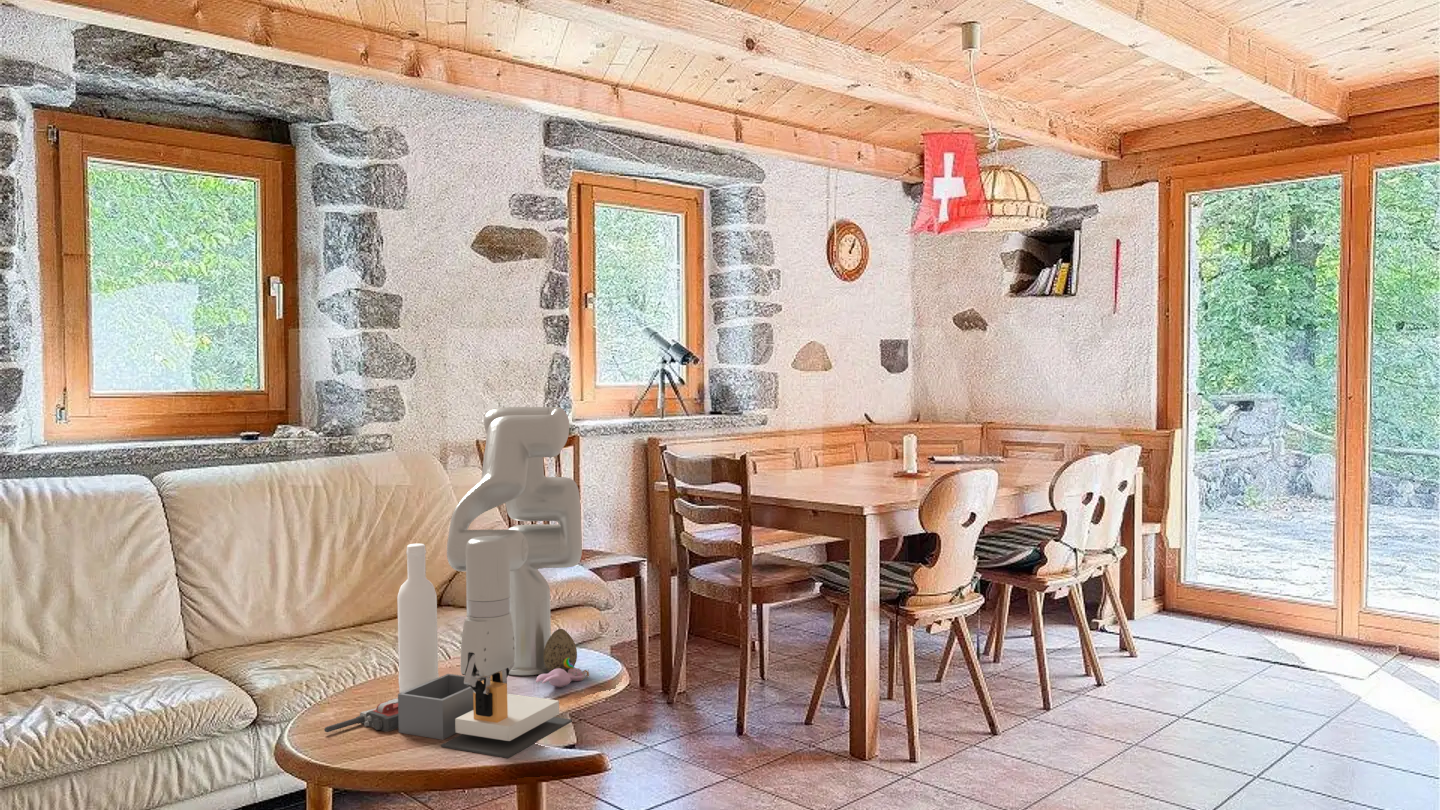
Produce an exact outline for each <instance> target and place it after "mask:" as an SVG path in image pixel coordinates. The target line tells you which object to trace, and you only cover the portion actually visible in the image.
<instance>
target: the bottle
mask: <svg viewBox="0 0 1440 810" xmlns="http://www.w3.org/2000/svg"><path fill="white" fill-rule="evenodd" d="M405 553H406V554H405V555H406V556H407V557H406V560H407V562H406V564H407V567H406V568H407V570H406V571H407V579H406V580H405V581H404V582H403V583H402V584H401V585H400V587H399V590H398V593H397V641H398V642H397V643H398V686H399V689H398V692H399V694H400V693H402V692H404V691H407V690H409V689H412V688H414V687H417V686H419V685H422V684H424V683H427V682H429V681H431V680H434V679H436V678H439V677H440V674H439V656H438V655H439V654H438V653H439V652H438V651H439V649H438V648H439V647H438V642H439V641H438V605H437V604H438V599H437V598H438V597H437V596H438V595H437V592H436V589H435V586H434V584H433V583H432V582H431V580H429V579H428V578H427V572H426V571H427V567H426V554H427V550H426V545H425V544H424V543H411V544H410V543H409V544H408V545H407V546H406V552H405Z"/></svg>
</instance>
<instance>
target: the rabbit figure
mask: <svg viewBox="0 0 1440 810" xmlns="http://www.w3.org/2000/svg"><path fill="white" fill-rule="evenodd" d="M569 659H570V658H566V659H565V660H564V663H563V664H564V666H565V667H566V668H570V669H569V670H568V673H567V672H566V671H565V670H563V669H561V668H557V669H554V670H552V671H551V672H547V673H543V674H538V676H537V677H536V680H535V683H539V682H541V681H542V682H541V684H545V683H547V682H549V684H550V685H551V686H554V687H557V688H564V687H565V686H568V685H569V684H570V683H571V682H581V681H584V680H585V678H586V677H587V678H586V679H588V678H589V677H590V674H589V673H590V671H589V669H588V670H587V669H584V670H583V671H582V669H580V668H576V667H575V666H573V664H572V663H570V662H569Z"/></svg>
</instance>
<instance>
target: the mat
mask: <svg viewBox="0 0 1440 810" xmlns="http://www.w3.org/2000/svg"><path fill="white" fill-rule="evenodd" d="M570 723H573V719H571V718H564V717H563V718H562V717H556V716H555V717H553V718H551V719H549V720H547V721H546V722H544V723H542V724H540V725H538V726H536V727H535V728H533V729H531V730H529V731H527V732H526V733H524V734H522V735H520V736H518V737H516V738H515V739H513V740H511V741H505V740H499V739H492V738H486V737H480V736H473V735H467V734H461V733H460V735H458V736H455V737H453V738H451V739H450V740H448V741H447V740H446V741H445V742H444V743H442V744H440V747H441V748H446V749H451V750H456V751H457V750H458V751H464V752H471V753H475V754H481V755H487V756H493V757H499V758H506V759H509V758H511V757H512V756H515V755H516V754H517V753H518V754H519V752H521V751H523V750H525V749H526V748H528V747H530V746H533V744H535V743H538V742H540V741H541V740H542V739H545V737H548V736H550V735H552V734H553V733H554V732H557V731H558V730H560V729H562V728H563V727H565V726H567V725H569V724H570Z"/></svg>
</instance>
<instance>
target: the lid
mask: <svg viewBox="0 0 1440 810" xmlns="http://www.w3.org/2000/svg"><path fill="white" fill-rule="evenodd" d="M481 682H482V683H483V684H484V680H483V681H481ZM490 693H492V707H493V715H492V716H490V717H487V716H480V715H477V714H476V700H475V693H474V692H473V708H474V710H472V711H470V712H468V713H466V714H464V715H462V716H460V717H458V718H455V730H456V734H460V735H461V734H467V735H473V736H480V737H486V738H492V739H499V740H505V741H511V740H513V739H515V738H516V737H518V736H520V735H522V734H524V733H526V732H527V731H529V730H531V729H533V728H535V727H536V726H538V725H540V724H542V723H544V722H546V721H547V720H549V719H551V718H553V717H556V716H558V715H560V701H559V699H558V700H556V699H550V698H542V697H535V696H527V695H518V694H512V693H508V682H507V683H500V682H493V681H490Z"/></svg>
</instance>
